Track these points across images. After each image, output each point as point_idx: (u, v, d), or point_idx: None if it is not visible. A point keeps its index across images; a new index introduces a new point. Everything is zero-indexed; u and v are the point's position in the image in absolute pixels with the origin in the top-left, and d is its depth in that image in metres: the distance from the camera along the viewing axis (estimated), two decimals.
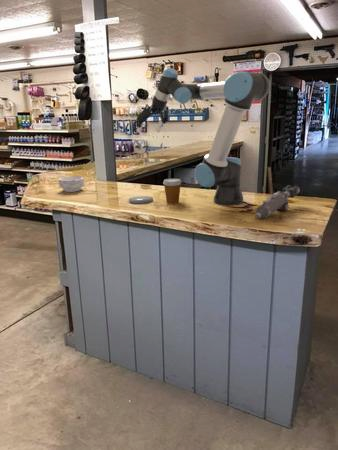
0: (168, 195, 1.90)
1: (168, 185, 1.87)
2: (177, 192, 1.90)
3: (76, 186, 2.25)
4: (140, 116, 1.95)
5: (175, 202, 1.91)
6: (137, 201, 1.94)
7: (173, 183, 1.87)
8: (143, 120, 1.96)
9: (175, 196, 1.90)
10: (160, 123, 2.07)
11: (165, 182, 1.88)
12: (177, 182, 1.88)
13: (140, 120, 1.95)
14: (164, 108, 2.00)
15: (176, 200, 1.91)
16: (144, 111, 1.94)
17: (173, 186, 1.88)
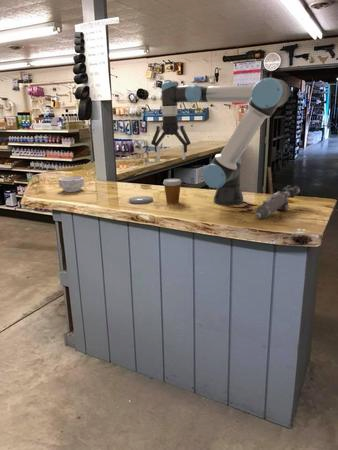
0: (168, 195, 1.90)
1: (168, 185, 1.87)
2: (177, 192, 1.90)
3: (76, 186, 2.25)
4: None
5: (175, 202, 1.91)
6: (137, 201, 1.94)
7: (173, 183, 1.87)
8: (156, 142, 1.87)
9: (175, 196, 1.90)
10: None
11: (165, 182, 1.88)
12: (177, 182, 1.88)
13: (152, 142, 1.87)
14: (179, 128, 1.81)
15: (176, 200, 1.91)
16: None
17: (173, 186, 1.88)
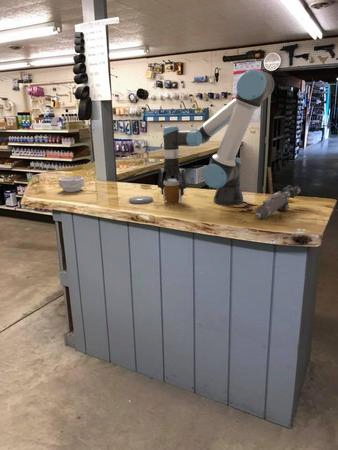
0: (168, 195, 1.90)
1: (168, 185, 1.87)
2: (177, 192, 1.90)
3: (76, 186, 2.25)
4: None
5: (175, 202, 1.91)
6: (137, 201, 1.94)
7: (173, 183, 1.87)
8: (162, 185, 1.92)
9: (175, 196, 1.90)
10: None
11: (165, 182, 1.88)
12: (177, 182, 1.88)
13: (159, 185, 1.93)
14: (180, 170, 1.87)
15: (176, 200, 1.91)
16: None
17: (173, 186, 1.88)
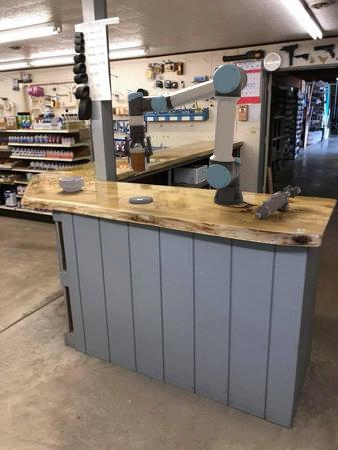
0: (134, 162, 1.91)
1: (134, 152, 1.88)
2: (143, 159, 1.90)
3: (76, 186, 2.25)
4: None
5: (141, 170, 1.92)
6: (137, 201, 1.94)
7: (138, 150, 1.87)
8: (128, 153, 1.92)
9: (141, 163, 1.90)
10: None
11: (131, 149, 1.89)
12: (143, 149, 1.88)
13: (125, 153, 1.93)
14: (145, 137, 1.88)
15: (142, 168, 1.92)
16: None
17: (138, 153, 1.88)
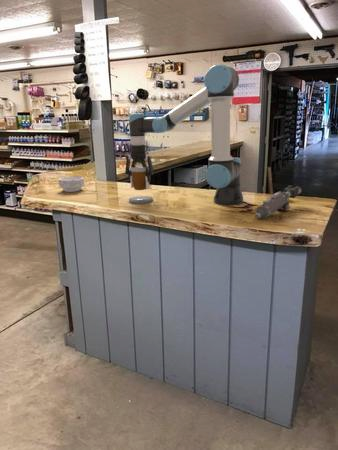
0: (135, 181, 1.94)
1: (134, 171, 1.91)
2: (144, 178, 1.93)
3: (76, 186, 2.25)
4: None
5: (142, 188, 1.95)
6: (137, 201, 1.94)
7: (139, 169, 1.90)
8: (129, 172, 1.95)
9: (142, 182, 1.93)
10: None
11: (132, 168, 1.92)
12: (143, 168, 1.91)
13: (126, 172, 1.96)
14: (146, 157, 1.91)
15: (143, 186, 1.95)
16: None
17: (139, 173, 1.91)
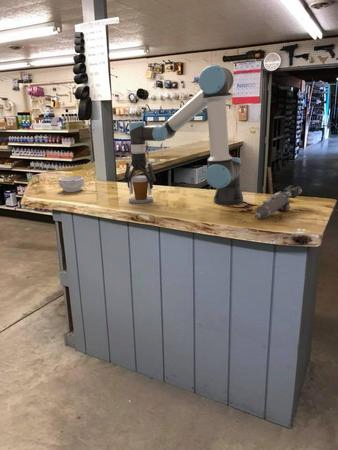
0: (136, 191, 1.95)
1: (135, 181, 1.92)
2: (145, 188, 1.95)
3: (76, 186, 2.25)
4: None
5: (143, 198, 1.96)
6: (137, 201, 1.94)
7: (140, 180, 1.92)
8: (128, 178, 1.97)
9: (143, 192, 1.95)
10: None
11: (133, 179, 1.93)
12: (144, 179, 1.92)
13: (125, 178, 1.97)
14: (146, 164, 1.92)
15: (144, 196, 1.96)
16: None
17: (140, 183, 1.92)
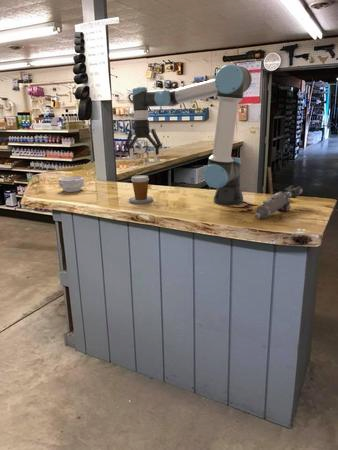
0: (136, 191, 1.95)
1: (135, 182, 1.92)
2: (145, 188, 1.95)
3: (76, 186, 2.25)
4: None
5: (143, 198, 1.96)
6: (137, 201, 1.94)
7: (140, 180, 1.92)
8: (129, 145, 1.94)
9: (143, 192, 1.95)
10: None
11: (133, 179, 1.93)
12: (144, 179, 1.92)
13: (125, 145, 1.94)
14: (150, 131, 1.89)
15: (144, 196, 1.96)
16: None
17: (140, 183, 1.92)
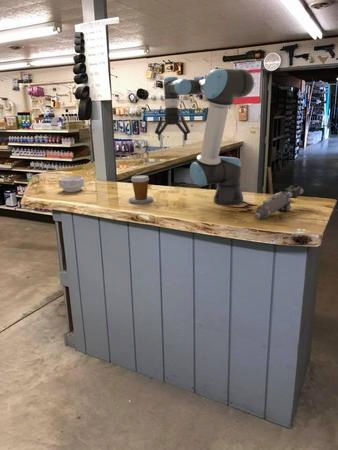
0: (136, 191, 1.95)
1: (135, 181, 1.92)
2: (145, 188, 1.95)
3: (76, 186, 2.25)
4: None
5: (143, 198, 1.96)
6: (137, 201, 1.94)
7: (140, 179, 1.92)
8: (159, 131, 2.08)
9: (143, 192, 1.95)
10: None
11: (133, 179, 1.93)
12: (144, 179, 1.93)
13: (156, 131, 2.08)
14: (179, 118, 2.03)
15: (144, 196, 1.96)
16: None
17: (140, 183, 1.93)
